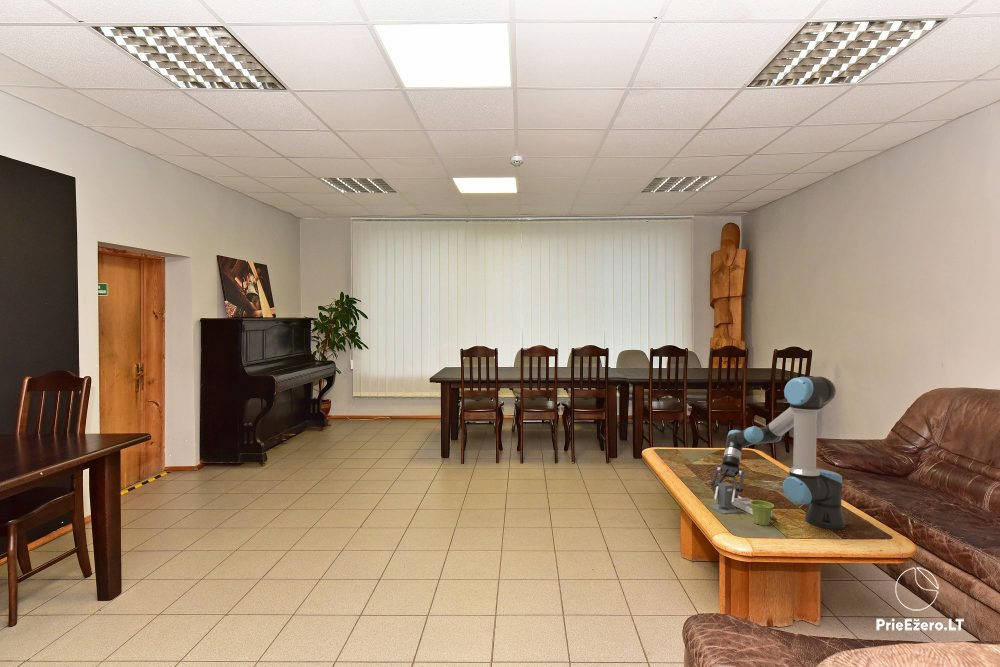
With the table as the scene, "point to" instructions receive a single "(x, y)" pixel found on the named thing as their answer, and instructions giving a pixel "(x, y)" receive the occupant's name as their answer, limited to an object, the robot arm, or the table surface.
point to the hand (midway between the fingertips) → (724, 501)
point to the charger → (725, 494)
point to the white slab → (747, 505)
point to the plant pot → (761, 511)
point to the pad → (725, 509)
